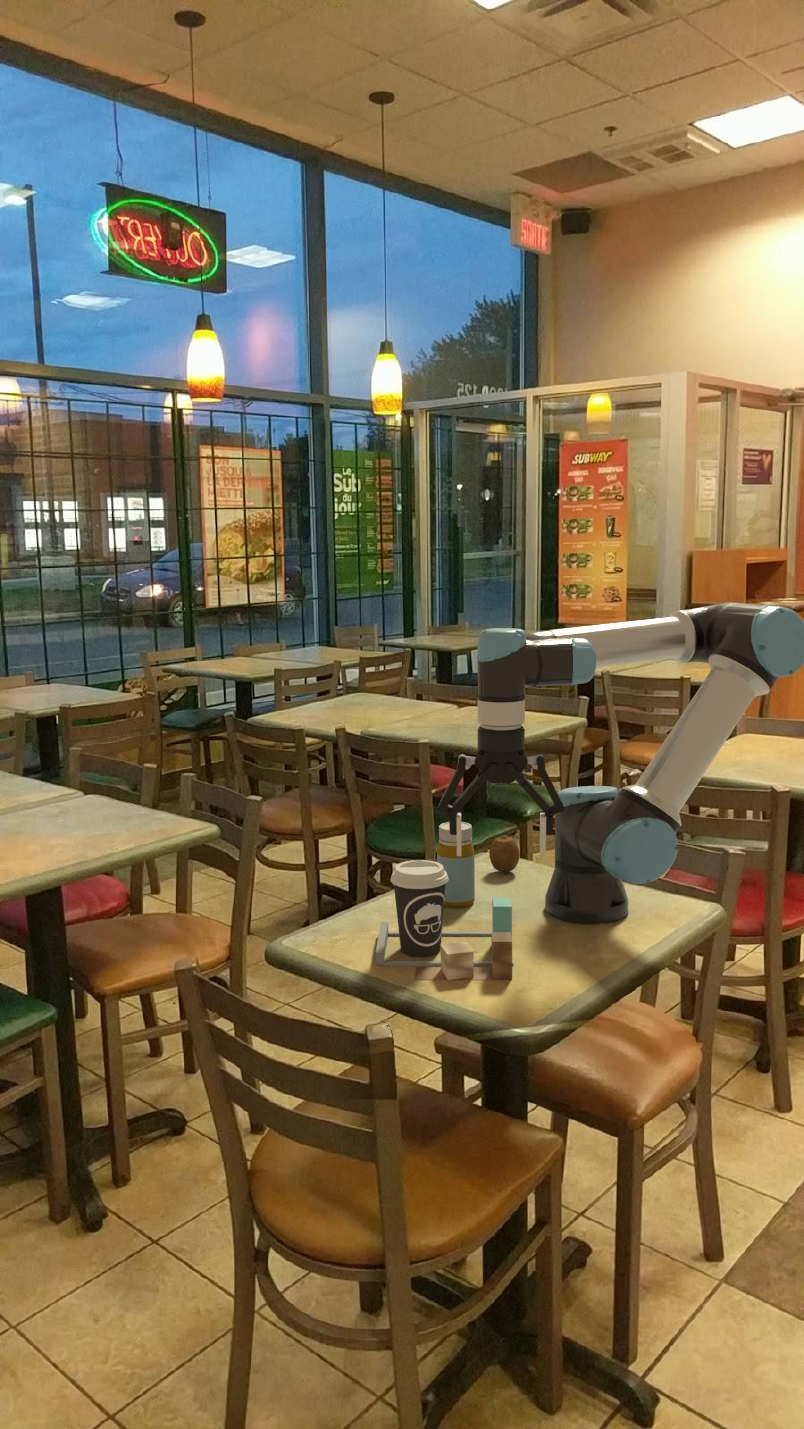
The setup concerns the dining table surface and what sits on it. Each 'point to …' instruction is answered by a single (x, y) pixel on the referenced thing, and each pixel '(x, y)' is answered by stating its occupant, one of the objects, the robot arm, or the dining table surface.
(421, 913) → the coffee cup
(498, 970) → the wooden l-shaped block
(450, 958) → the maple block
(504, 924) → the grey rectangular frame
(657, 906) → the dining table surface
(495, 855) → the fruit
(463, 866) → the bottle
